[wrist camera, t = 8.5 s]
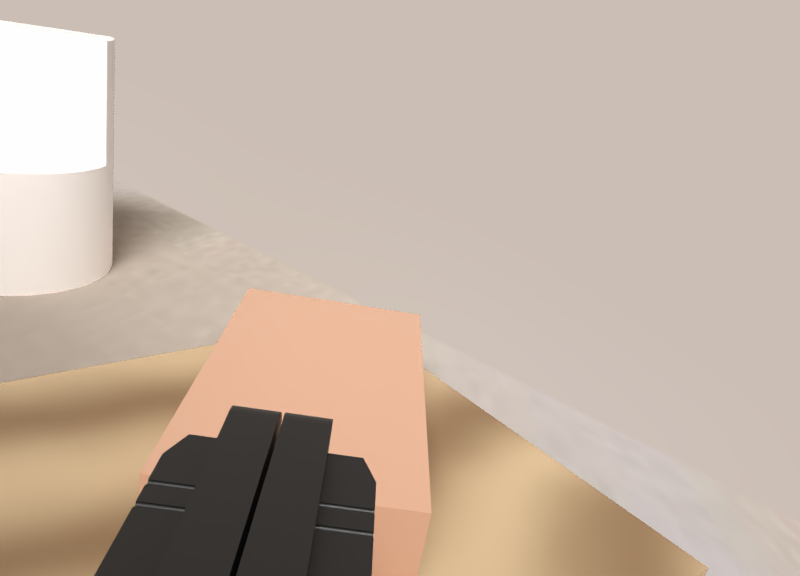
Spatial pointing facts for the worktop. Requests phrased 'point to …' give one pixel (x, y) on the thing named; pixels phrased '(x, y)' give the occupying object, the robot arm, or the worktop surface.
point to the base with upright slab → (55, 158)
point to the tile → (328, 399)
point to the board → (448, 470)
